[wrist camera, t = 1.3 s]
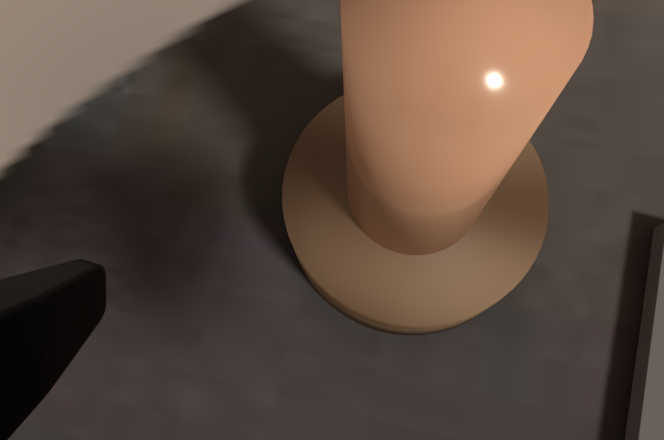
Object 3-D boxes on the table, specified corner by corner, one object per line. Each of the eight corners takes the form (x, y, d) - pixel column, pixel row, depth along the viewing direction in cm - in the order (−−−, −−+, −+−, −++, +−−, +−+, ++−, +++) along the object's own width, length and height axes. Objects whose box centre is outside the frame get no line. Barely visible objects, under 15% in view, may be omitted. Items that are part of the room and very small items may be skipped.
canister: (463, 272, 19) (570, 145, 10) (330, 233, 20) (307, 79, 10) (493, 150, 21) (611, -63, 11) (368, 118, 21) (379, -108, 12)
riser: (497, 367, 21) (519, 362, 18) (258, 293, 22) (244, 277, 19) (545, 146, 24) (570, 111, 21) (331, 92, 25) (328, 52, 22)
